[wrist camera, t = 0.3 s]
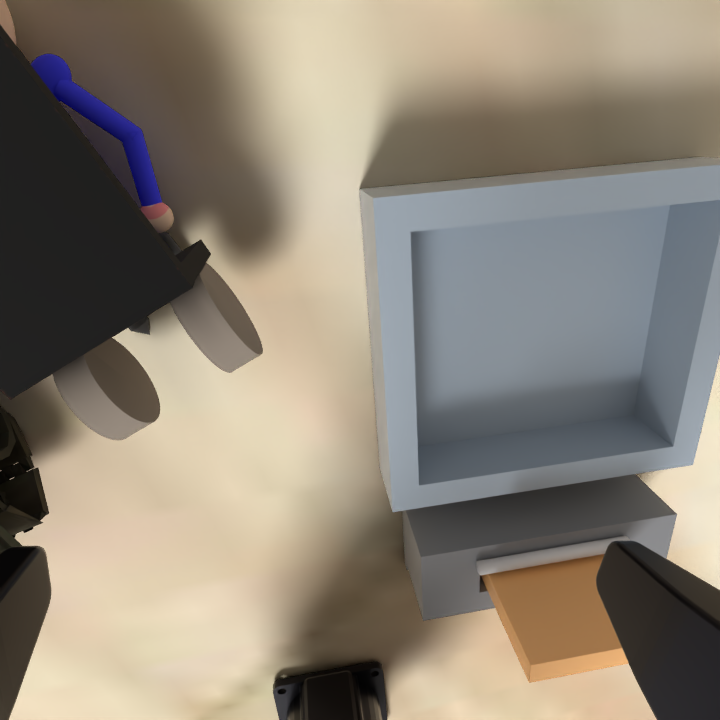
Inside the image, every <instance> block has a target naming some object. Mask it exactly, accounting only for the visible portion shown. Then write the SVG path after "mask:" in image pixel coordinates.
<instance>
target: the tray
mask: <svg viewBox="0 0 720 720" xmlns="http://www.w3.org/2000/svg"><path fill="white" fill-rule="evenodd" d="M359 191H360V205H361V218H362V232H363V246H364V260H365V274H366V287H367V301H368V315H369V329H370V343H371V356H372V370H373V384H374V398H375V412H376V425H377V439H378V453H379V467H380V471H381V474H382V478H383V481H384V485H385V488H386V492H387V495H388V498H389V502H390V505H391V509H392V512H397V511H404V510H410V509H416V508H423V507H429V506H435V505H442V504H448V503H454V502H461V501H467V500H473V499H480V498H486V497H492V496H499V495H505V494H511V493H518V492H524V491H530V490H537V489H543V488H549V487H556V486H562V485H568V484H575V483H581V482H587V481H594V480H600V479H606V478H613V477H619V476H625V475H632V474H638V473H644V472H651V471H657V470H663V469H670V468H676V467H682V466H689V465H693V462H694V458H695V454H696V450H697V446H698V442H699V438H700V433H701V429H702V425H703V421H704V417H705V413H706V409H707V405H708V400H709V396H710V392H711V388H712V384H713V380H714V376H715V372H716V367H717V363H718V359H719V355H720V158H711V157H692V158H682V159H671V160H660V161H650V162H639V163H629V164H618V165H607V166H597V167H586V168H576V169H565V170H554V171H544V172H533V173H523V174H512V175H502V176H491V177H480V178H470V179H459V180H449V181H438V182H427V183H417V184H406V185H396V186H385V187H374V188H364V189H359Z"/></svg>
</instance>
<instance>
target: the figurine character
mask: <svg viewBox="0 0 720 720" xmlns="http://www.w3.org/2000/svg"><path fill="white" fill-rule="evenodd" d="M60 101H62V102H63V103H65V104H66V105H68V106H69V107H71V108H72V109H74V110H75V111H77V112H78V113H80V114H81V115H83V116H84V117H86V118H87V119H89V120H90V121H92V122H93V123H95V124H96V125H98V126H99V127H101V128H102V129H104V130H105V131H107V132H108V133H110V134H111V135H113V136H114V137H115V138H117V139H118V140H120V141H121V142H122V143H123V147H124V150H125V153H126V156H127V160H128V163H129V166H130V169H131V173H132V176H133V179H134V182H135V186H136V189H137V192H138V195H139V199H140V202H141V205H142V207H141V208H139V207H138V206H137V204H136V203H135V202H134V200H133V199H132V198H131V196H130V195H129V194H128V192H127V191H126V190H125V189H124V187H123V186H122V185H121V183H120V182H119V181H118V179H117V178H116V177H115V175H114V174H113V173H112V171H111V170H110V169H109V167H108V166H107V165H106V163H105V162H104V161H103V159H102V158H101V157H100V156H99V154H98V153H97V152H96V150H95V149H94V148H93V146H92V145H91V144H90V142H89V141H88V140H87V138H86V137H85V136H84V134H83V133H82V132H81V130H80V129H79V128H78V126H77V125H76V124H75V122H74V121H73V120H72V119H71V117H70V116H69V115H68V113H67V112H66V111H65V109H64V108H63V107H62V105H61V104H60V103H59V102H60ZM173 221H174V216H173V213H172V211H171V209H170V208H169V207H168V206H167V205H166V204H164V203H162V199H161V196H160V192H159V189H158V185H157V182H156V178H155V175H154V171H153V168H152V164H151V161H150V157H149V154H148V150H147V147H146V143H145V140H144V136H143V133H142V130H141V129H140V128H139V127H138V126H136V125H135V124H133V123H132V122H130V121H129V120H127V119H126V118H125V117H123V116H122V115H120V114H119V113H117V112H116V111H114V110H113V109H112V108H110V107H109V106H107V105H106V104H104V103H103V102H101V101H100V100H99V99H97V98H96V97H94V96H93V95H91V94H90V93H88V92H87V91H86V90H84V89H83V88H81V87H80V86H78V85H77V84H75V83H74V82H73V81H72V76H71V72H70V69H69V67H68V65H67V64H66V62H65V61H64V60H63V59H62V58H60V57H59V56H56V55H53V54H43V55H41V56H39V57H37V58H36V59H35V60H34V61H33V62H32V63H31V64H30V63H29V62H28V60H27V59H26V58H25V56H24V55H23V54H22V52H21V51H20V50H19V49H18V47H17V46H16V35H15V29H14V24H13V20H12V17H11V14H10V11H9V9H8V6H7V4H6V1H5V0H0V391H2V392H3V393H4V394H5V395H6V396H7V397H8V398H9V399H12V398H14V397H15V396H17V395H18V394H20V393H22V392H23V391H25V390H27V389H28V388H30V387H32V386H33V385H35V384H36V383H38V382H40V381H41V380H43V379H45V378H46V377H48V376H50V375H51V374H53V377H54V381H55V383H56V386H57V388H58V390H59V392H60V394H61V396H62V398H63V399H64V401H65V402H66V404H67V405H68V406H69V408H70V409H71V410H72V412H73V413H74V414H75V415H76V416H77V417H78V418H79V419H80V420H81V421H82V422H83V423H84V424H85V425H87V426H88V427H89V428H90V429H92V430H93V431H95V432H96V433H98V434H100V435H101V436H104V437H106V438H109V439H113V440H123V439H125V438H127V437H129V436H131V435H132V434H134V433H136V432H137V431H139V430H141V429H142V428H144V427H146V426H147V425H149V424H151V423H152V422H154V421H155V420H157V418H158V417H159V414H160V403H159V399H158V395H157V392H156V390H155V388H154V385H153V383H152V381H151V380H150V378H149V376H148V375H147V373H146V371H145V370H144V369H143V367H142V366H141V365H140V363H139V362H138V361H137V360H136V358H135V357H134V356H133V355H132V354H131V353H130V352H129V351H128V350H127V349H126V348H125V347H124V346H122V345H121V344H120V343H119V342H117V341H116V340H114V339H113V338H112V337H113V336H115V335H117V334H118V333H120V332H121V331H123V330H125V329H126V328H129V329H130V330H131V331H134V332H139V333H144V334H149V335H150V331H149V318H147V316H148V315H149V314H151V313H153V312H154V311H156V310H157V309H159V308H161V307H162V306H164V305H166V304H167V303H169V302H170V303H171V306H172V308H173V310H174V312H175V314H176V316H177V317H178V319H179V321H180V322H181V324H182V326H183V327H184V329H185V330H186V332H187V333H188V335H189V336H190V337H191V339H192V340H193V341H194V343H195V344H196V345H197V347H198V348H199V349H200V350H201V351H202V352H203V354H204V355H205V356H206V357H207V358H208V359H209V360H210V361H211V362H212V363H214V364H215V365H216V366H217V367H218V368H220V369H221V370H223V371H225V372H229V373H230V372H233V371H234V370H236V369H238V368H239V367H241V366H243V365H244V364H246V363H248V362H249V361H251V360H253V359H254V358H256V357H258V356H259V355H261V354H262V353H263V348H262V344H261V341H260V338H259V336H258V334H257V331H256V329H255V327H254V325H253V323H252V322H251V320H250V318H249V316H248V314H247V313H246V311H245V310H244V308H243V306H242V305H241V303H240V302H239V300H238V299H237V297H236V296H235V294H234V293H233V292H232V290H231V289H230V288H229V286H228V285H227V284H226V283H225V281H224V280H223V279H222V278H221V277H220V275H219V274H218V273H217V272H216V271H215V270H214V269H213V268H212V267H211V266H210V265H209V264H207V263H206V261H207V260H208V258H209V257H210V255H211V253H210V252H209V250H208V249H207V248H206V246H205V245H204V243H203V242H202V240H199V241H198V242H196V243H194V244H193V245H191V246H189V247H188V248H186V249H185V250H183V251H182V250H181V249H180V247H179V246H178V245H177V244H176V242H175V241H174V240H173V239H172V237H171V236H170V235H169V234H168V233H167V232H165V231H167V230H169V229H170V228H171V226H172V224H173Z"/></svg>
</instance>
